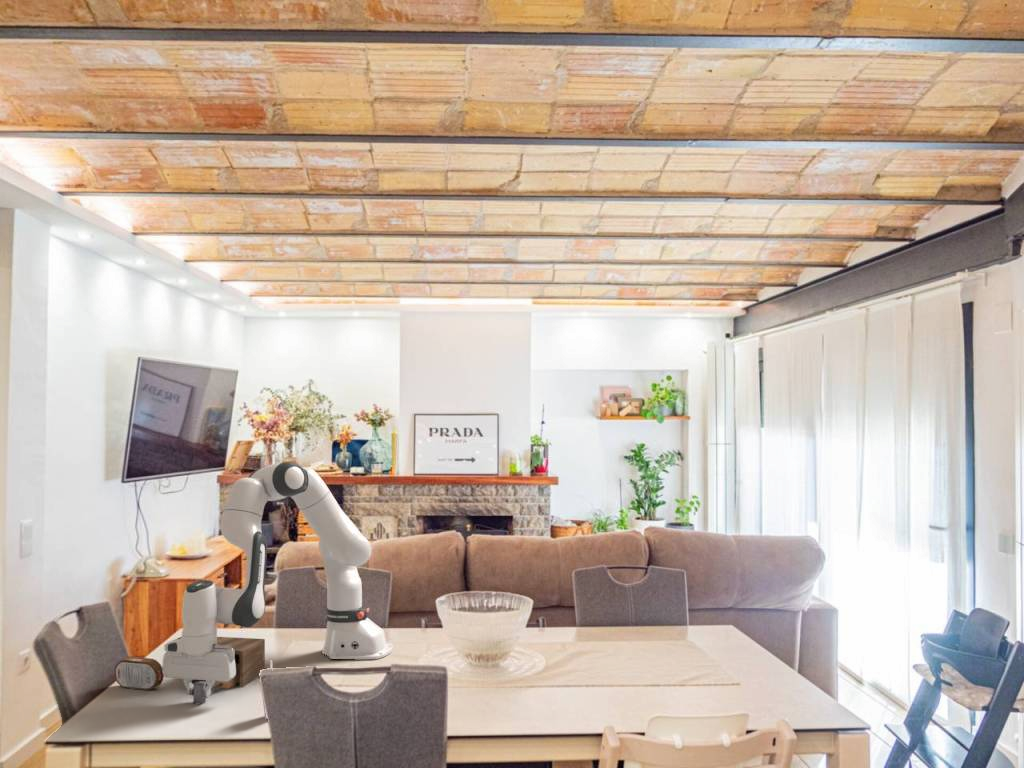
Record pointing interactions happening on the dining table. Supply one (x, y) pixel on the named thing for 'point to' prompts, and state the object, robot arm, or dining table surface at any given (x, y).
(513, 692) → the dining table surface
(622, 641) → the dining table surface
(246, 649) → the shelf unit
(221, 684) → the pull block
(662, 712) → the dining table surface
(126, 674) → the tin
